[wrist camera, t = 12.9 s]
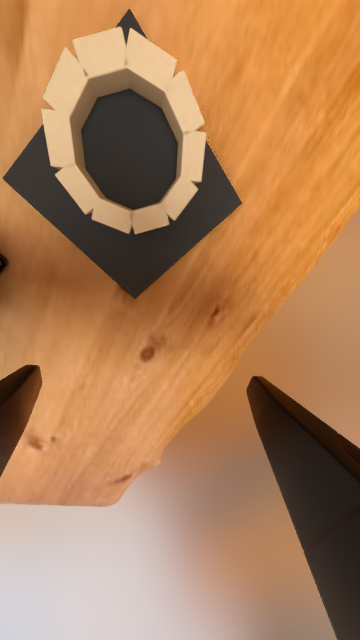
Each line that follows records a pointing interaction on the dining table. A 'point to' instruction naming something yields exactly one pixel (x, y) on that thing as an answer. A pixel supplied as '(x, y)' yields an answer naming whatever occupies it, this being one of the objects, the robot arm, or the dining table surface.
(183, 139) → the beige segmented ring
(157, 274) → the rubber mat
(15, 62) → the dining table surface
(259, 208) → the dining table surface
